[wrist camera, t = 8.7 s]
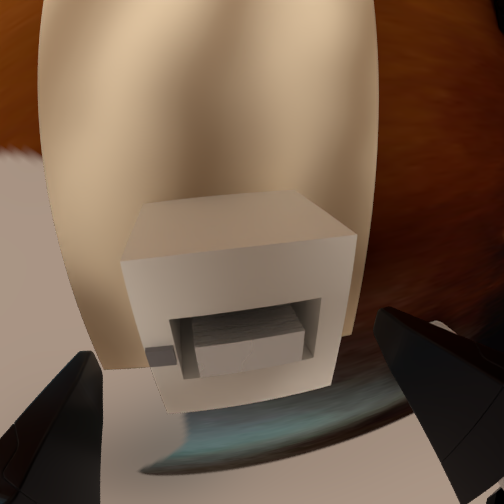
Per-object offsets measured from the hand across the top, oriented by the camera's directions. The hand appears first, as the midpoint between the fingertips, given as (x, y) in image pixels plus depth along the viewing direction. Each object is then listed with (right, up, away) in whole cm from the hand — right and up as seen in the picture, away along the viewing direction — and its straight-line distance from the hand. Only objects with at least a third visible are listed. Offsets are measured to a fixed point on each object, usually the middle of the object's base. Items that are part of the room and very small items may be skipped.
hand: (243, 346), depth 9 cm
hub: (-1, +2, +4) cm, 5 cm away
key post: (-1, +2, +4) cm, 5 cm away
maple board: (-1, +7, +4) cm, 8 cm away
